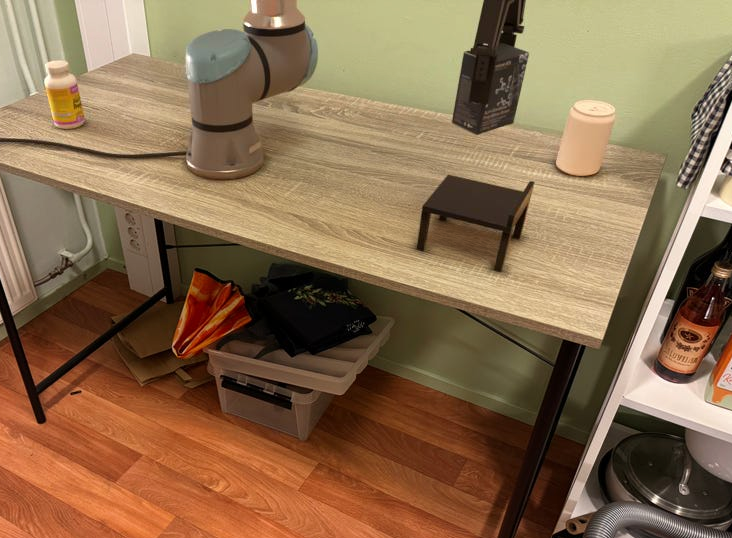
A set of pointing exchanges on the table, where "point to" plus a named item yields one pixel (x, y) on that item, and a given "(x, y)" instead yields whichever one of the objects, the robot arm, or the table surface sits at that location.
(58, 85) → the supplement bottle
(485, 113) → the box
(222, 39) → the robot arm
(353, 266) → the table surface
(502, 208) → the small dark brown table
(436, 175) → the table surface
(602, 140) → the beverage can
